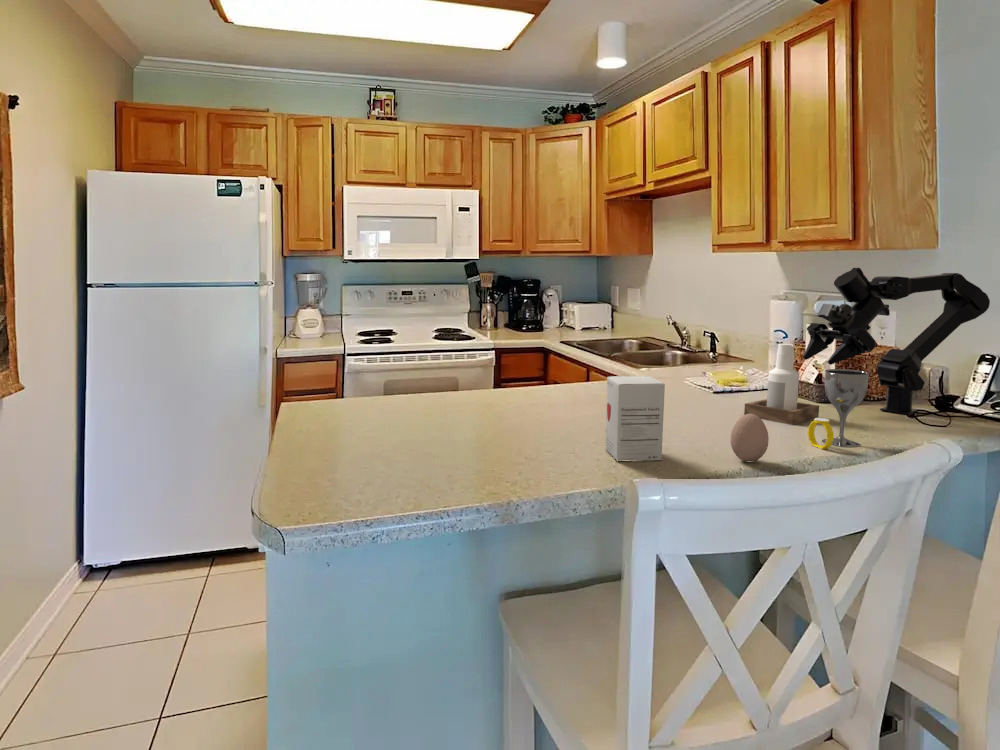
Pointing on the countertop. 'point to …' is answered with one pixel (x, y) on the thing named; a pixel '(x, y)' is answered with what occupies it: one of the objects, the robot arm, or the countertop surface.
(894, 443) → the countertop surface
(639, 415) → the supplement box
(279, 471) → the countertop surface
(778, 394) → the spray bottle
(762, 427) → the egg
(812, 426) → the watch
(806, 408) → the collar
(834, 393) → the wine glass
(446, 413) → the countertop surface
